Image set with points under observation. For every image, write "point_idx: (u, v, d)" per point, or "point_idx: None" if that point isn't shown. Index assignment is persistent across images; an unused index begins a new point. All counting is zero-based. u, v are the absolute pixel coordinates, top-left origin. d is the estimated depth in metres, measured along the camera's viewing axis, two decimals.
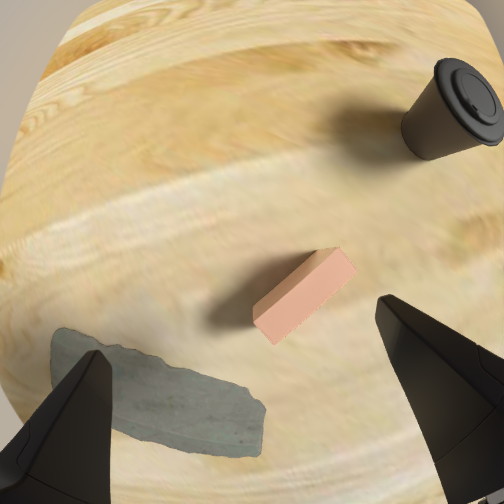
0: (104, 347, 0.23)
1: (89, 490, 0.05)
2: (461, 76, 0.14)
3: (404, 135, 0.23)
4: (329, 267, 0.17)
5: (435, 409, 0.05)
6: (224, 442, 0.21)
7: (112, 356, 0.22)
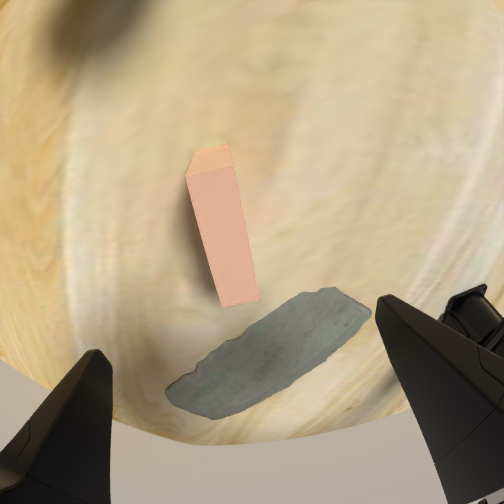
0: (195, 373, 0.26)
1: (89, 490, 0.05)
2: None
3: None
4: (205, 202, 0.12)
5: (435, 409, 0.05)
6: (335, 337, 0.24)
7: (205, 373, 0.26)
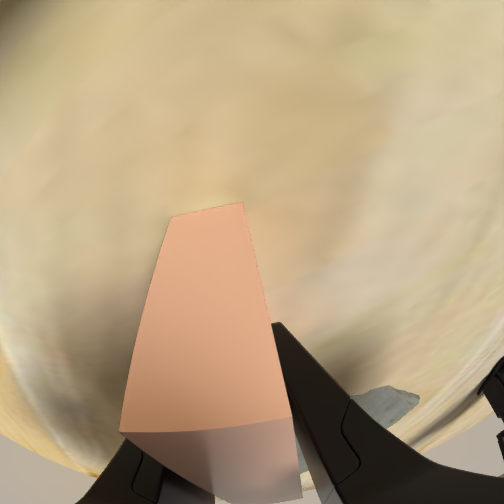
0: None
1: (198, 501, 0.05)
2: None
3: None
4: (197, 462, 0.03)
5: (307, 455, 0.05)
6: None
7: None
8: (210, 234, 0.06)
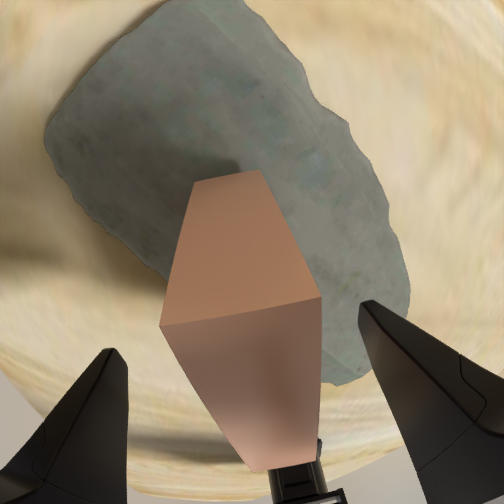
0: (317, 102, 0.09)
1: (106, 493, 0.05)
2: None
3: None
4: (225, 377, 0.04)
5: (415, 419, 0.05)
6: (347, 365, 0.15)
7: (329, 134, 0.09)
8: (233, 190, 0.07)
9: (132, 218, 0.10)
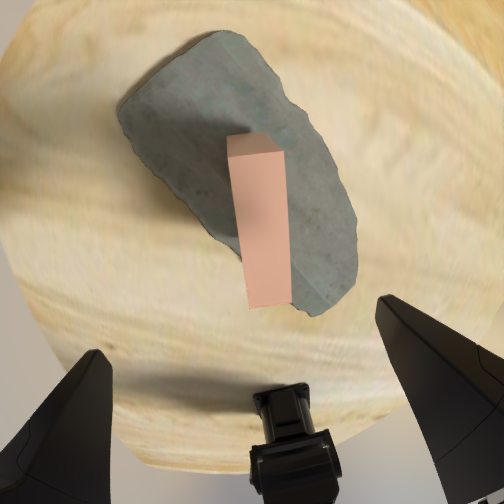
0: (287, 100, 0.16)
1: (89, 490, 0.05)
2: None
3: None
4: (247, 189, 0.10)
5: (435, 409, 0.05)
6: (317, 289, 0.22)
7: (294, 118, 0.16)
8: (249, 136, 0.14)
9: (175, 162, 0.16)
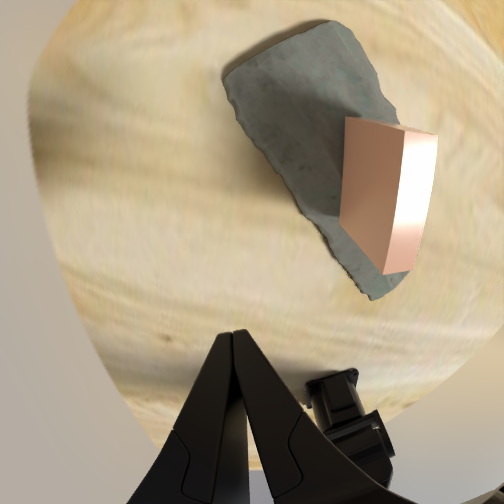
0: (382, 94, 0.16)
1: None
2: None
3: None
4: (411, 161, 0.10)
5: None
6: None
7: (388, 111, 0.16)
8: (374, 120, 0.14)
9: (284, 134, 0.16)
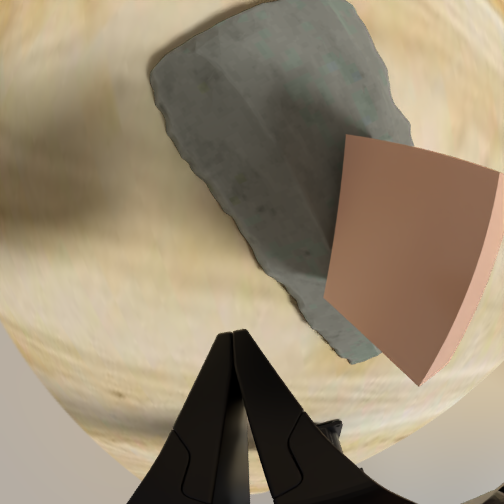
0: (393, 102, 0.10)
1: None
2: None
3: None
4: (494, 221, 0.05)
5: None
6: None
7: (400, 128, 0.11)
8: None
9: (235, 159, 0.10)
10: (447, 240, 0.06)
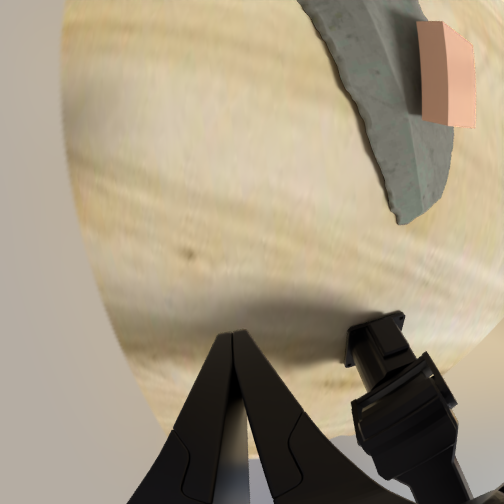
0: None
1: None
2: None
3: None
4: None
5: None
6: (420, 182, 0.18)
7: None
8: None
9: (336, 3, 0.11)
10: (471, 67, 0.12)
